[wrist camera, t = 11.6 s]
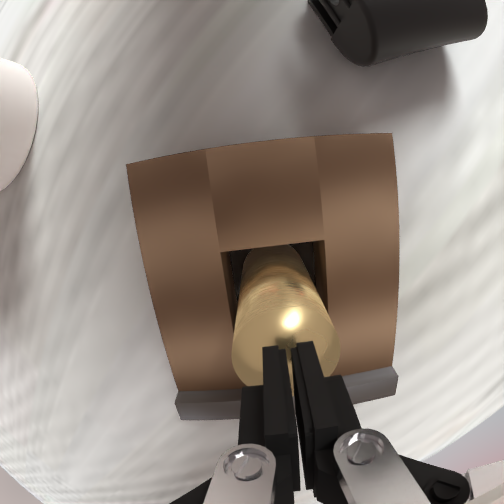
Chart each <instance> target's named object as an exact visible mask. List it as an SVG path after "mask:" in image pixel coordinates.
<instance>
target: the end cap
mask: <svg viewBox="0 0 504 504" xmlns="http://www.w3.org/2000/svg"><path fill="white" fill-rule="evenodd" d="M308 2H309V4H310V6H311V7H312V8H313V10H314V11H315V13H316V14H317V16H318V17H319V19H320V20H321V21H322V23H323V24H324V26H325V27H326V29H327V31H328V32H329V34H330V35H331V37H332V38H331V40H332V41H333V43H334V44H335V46H336V47H337V48H338V49H339V51H340V52H341V53H342V54H343V55H344V56H345V57H346V58H347V59H348V60H350V61H351V62H353V63H354V64H356V65H359V66H363V67H364V66H371V65H374V64H377V63H381V62H384V61H387V60H390V59H394V58H397V57H401V56H404V55H408V54H411V53H415V52H419V51H423V50H427V49H431V48H435V47H439V46H444V45H448V44H453V43H458V42H463V41H468V40H472V39H476V38H477V37H479V36H480V35H481V34H482V33H483V32H484V30H485V27H486V25H487V19H488V14H487V7H486V2H485V0H308Z"/></svg>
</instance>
